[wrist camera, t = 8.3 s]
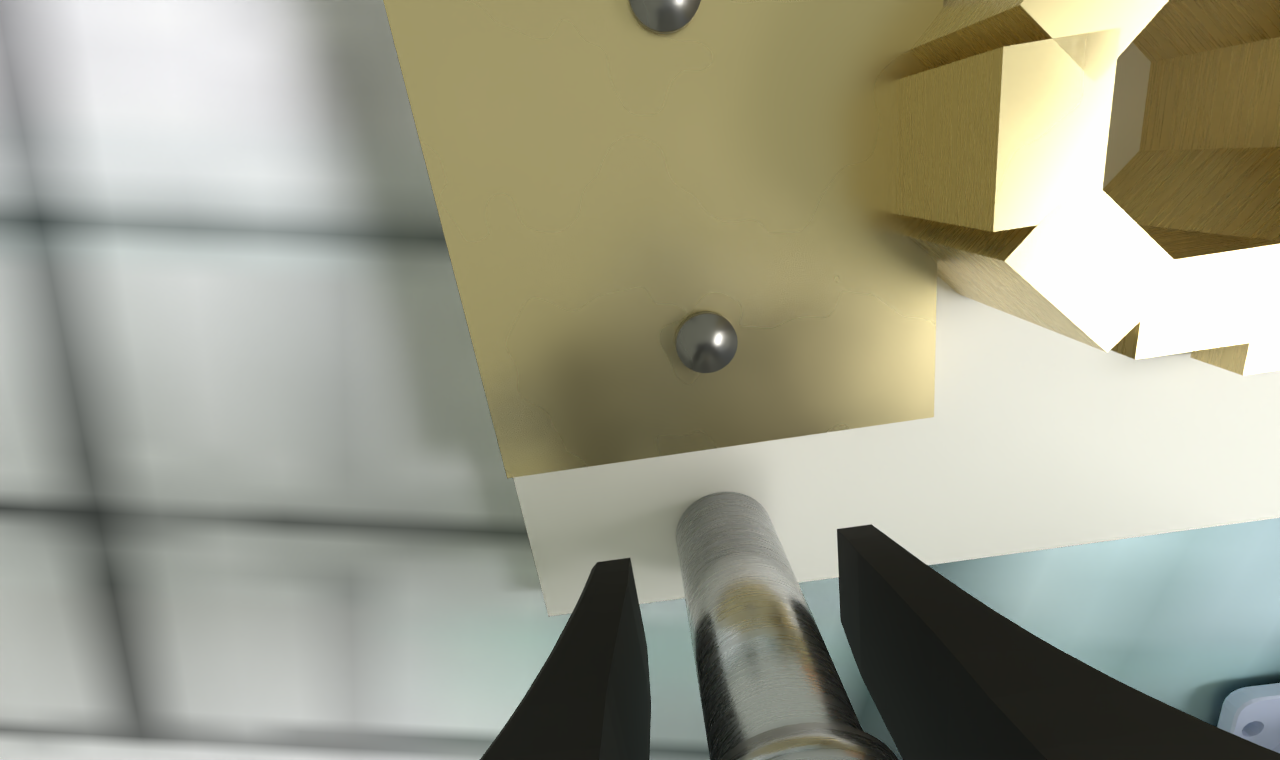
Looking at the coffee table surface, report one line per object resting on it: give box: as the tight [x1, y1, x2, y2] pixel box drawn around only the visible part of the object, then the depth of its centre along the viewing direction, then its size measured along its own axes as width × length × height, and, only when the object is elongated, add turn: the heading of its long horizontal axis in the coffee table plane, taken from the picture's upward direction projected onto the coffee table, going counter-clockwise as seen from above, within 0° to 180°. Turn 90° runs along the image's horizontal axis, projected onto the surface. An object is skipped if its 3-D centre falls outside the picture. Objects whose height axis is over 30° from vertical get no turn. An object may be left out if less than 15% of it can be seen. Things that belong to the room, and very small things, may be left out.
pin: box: [676, 492, 898, 760], centre depth 9 cm, size 2×2×6 cm
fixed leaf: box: [383, 0, 1280, 478], centre depth 8 cm, size 9×13×4 cm
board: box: [513, 42, 1280, 616], centre depth 10 cm, size 15×28×1 cm, turn 99°
